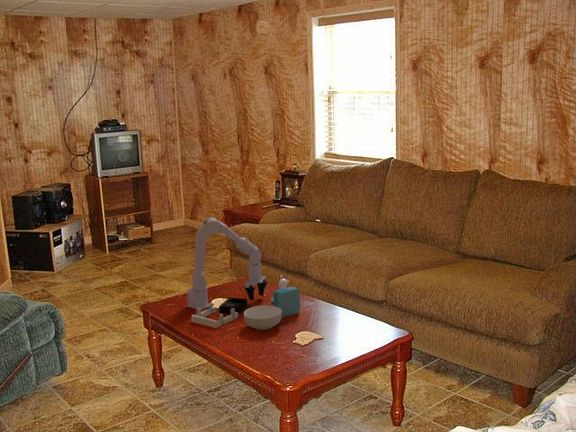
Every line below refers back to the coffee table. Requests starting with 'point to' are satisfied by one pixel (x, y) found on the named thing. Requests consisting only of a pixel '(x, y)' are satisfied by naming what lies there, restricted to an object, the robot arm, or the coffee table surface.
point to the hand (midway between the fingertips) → (256, 297)
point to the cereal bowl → (263, 317)
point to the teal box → (287, 300)
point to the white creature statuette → (281, 285)
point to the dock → (209, 322)
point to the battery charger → (233, 305)
